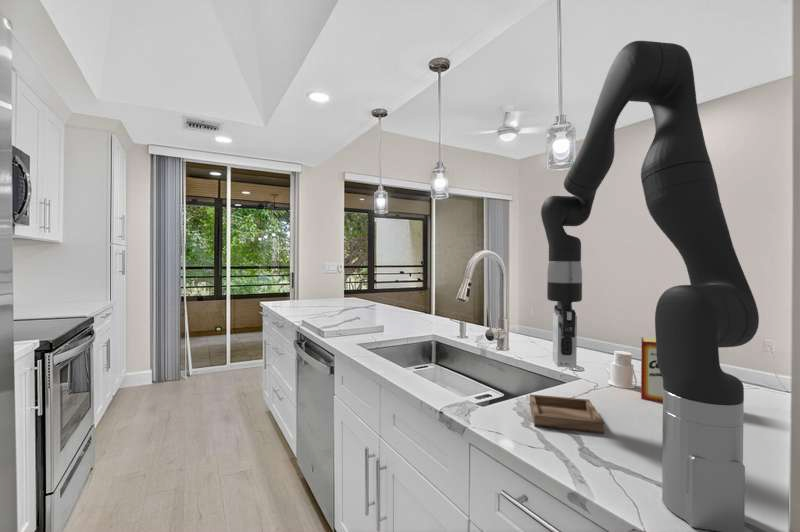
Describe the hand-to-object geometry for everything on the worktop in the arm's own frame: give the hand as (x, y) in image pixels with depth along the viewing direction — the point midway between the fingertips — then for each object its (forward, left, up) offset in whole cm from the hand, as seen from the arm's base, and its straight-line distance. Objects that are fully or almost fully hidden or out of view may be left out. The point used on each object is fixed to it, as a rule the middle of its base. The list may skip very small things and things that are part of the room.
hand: (563, 351), depth 88 cm
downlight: (+31, -21, -16) cm, 41 cm away
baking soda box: (+21, -28, -16) cm, 38 cm away
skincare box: (0, 0, -3) cm, 3 cm away
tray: (0, 0, -16) cm, 16 cm away
